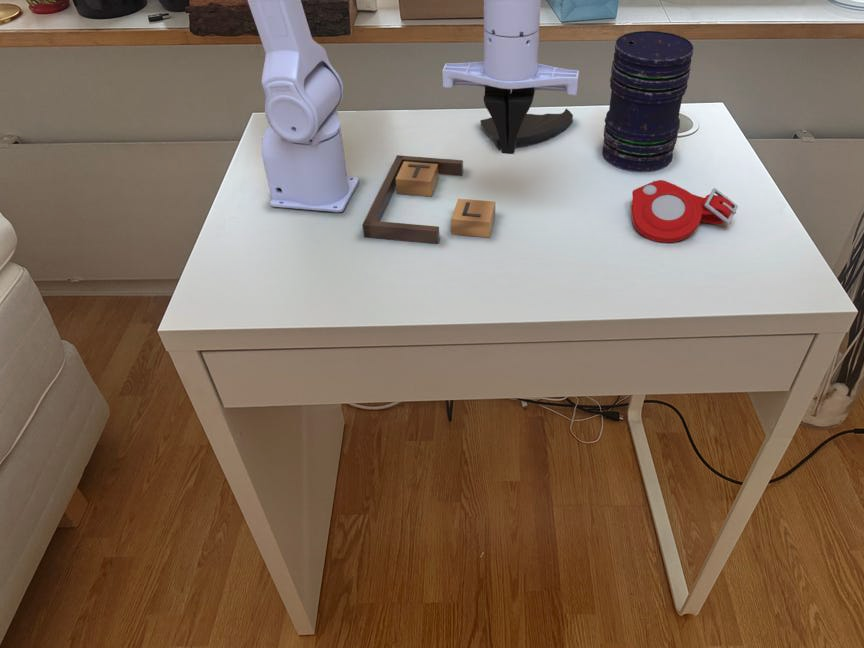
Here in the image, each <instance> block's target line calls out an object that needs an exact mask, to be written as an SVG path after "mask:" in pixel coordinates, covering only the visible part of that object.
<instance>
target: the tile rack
mask: <svg viewBox="0 0 864 648" xmlns="http://www.w3.org/2000/svg"><path fill="white" fill-rule="evenodd" d="M404 161H406V162H419V163H432V164H438V175H445V176H446V175H447V176H459V177H462V176H463V174H464V160H463V159H452V158H439V157H438V158H437V157H425V156H412V155H401V154H400V155H399V154H397V155H396V156H395V158H394V160H393V162H392V164H391V166H390V168H389V170H388V173H387V174H386V176H385V178H384V180H383V182H382V184H381V186H380V187H379V191H378V193H377V195H376V196H375V198H374V200H373V203H372V205H371V206H370V208H369V210H368V212H367V215H366V216H365V218H364V221H363V223H362V232H363V237H364V238H368V239H369V238H370V239H378V240H379V239H380V240H391V241H402V242H413V243H422V244H423V243H424V244H435V245H438V244H439V242H440V226H438V225H437V226H436V225H425V224H416V223H415V224H414V223H404V222H403V223H402V222H391V221H381V220H382V217H383V216H384V214H385V211H386V209H387V207H388V205H389V202H390V200H391V199H392V196H393V194H394V192H395V190H396V177H397V175H398V173H399V170H400V168H401V166H402V164H403V162H404Z"/></svg>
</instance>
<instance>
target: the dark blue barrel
mask: <svg viewBox="0 0 864 648" xmlns="http://www.w3.org/2000/svg"><path fill="white" fill-rule="evenodd" d="M694 47H695V46H694V44H693V43H692V42H691V40H688V39H687V38H685V37H684V36H681V35H678V34H675V33H670V32H667V31H657V30H639V31H632V32H628V33H624V34H622V35H620V36H619V37H617V39H616V40H615V45H614V53H613V60H612V62H611V70H610V73H611V75H610V78H609V87H610V89H611V92H610V99H609V106H608V107H609V109H608V111H607V112H606V114H605V118H604V127H603V145H602V151H601V155H602V158H603V159H604V160H605V162H607V163H608V164H610V165H611V166H613V167H615V168H617V169H621V170H623V171H628V172H634V173H650V172H651V173H652V172H656V171H660V170H662V169H665V168H666V167H669V165H670V164H671V163H672V162H673V157H674V151H675V146H676V145H677V141H678V136H679V130H680V127H681V125H680V124H681V119H680V117H679V116H680V112H681V106H682V101H683V96H684V95H685V94H686V91H687V90H688V82H689V78H690V74H691V64H692V58H693V53H694V49H695V48H694Z"/></svg>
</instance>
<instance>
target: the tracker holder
mask: <svg viewBox="0 0 864 648" xmlns="http://www.w3.org/2000/svg"><path fill="white" fill-rule="evenodd" d="M631 200H632V201H631V206H630V207H631V209H630V211H631V219H632V223H633V226H634V228H635V230H636V231H637V232H638V233H639V234H640V235H641V236H643V237H644V238H646V239H648V240H651V241H653V242H657V243H675V242H676V243H677V242H680V241H682V240H684V239H686V238H688V237H690V236H691V235H692V234H694V232H695V231H696V229H697V228H698V226H699V225H700V223H705V224H713V225H714V224H715V225H720V224H721V225H722V224H727V225H729V224H731V223H732V222H731V221H732V219H733V218H734V216H735V214H737V210H738V207H739V206H738V204H737V203H735V202H734V201H733V200H731V199H730V198H729V197H727V196H726V195H725V194H723V193H722V192H721V191H719V190H718V189H717V188H716V187H714V188H712V190H711V192H710V193H709V194H707V195H706V196H705V197H703V196H699V195H696V194H693V193H691V192H690V191H688V190H686V189H685V188H682V187H681V186H678V185H676V184H674V183H671V182H669V181H667V180H664V179H658V180H653V181H651V182H649V183H647V184H644V185H642V186H640V187H637V188H635V189H633V190H632V199H631Z"/></svg>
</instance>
